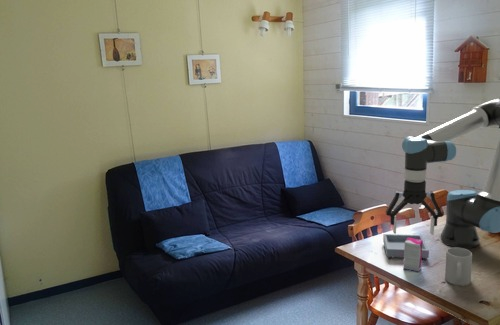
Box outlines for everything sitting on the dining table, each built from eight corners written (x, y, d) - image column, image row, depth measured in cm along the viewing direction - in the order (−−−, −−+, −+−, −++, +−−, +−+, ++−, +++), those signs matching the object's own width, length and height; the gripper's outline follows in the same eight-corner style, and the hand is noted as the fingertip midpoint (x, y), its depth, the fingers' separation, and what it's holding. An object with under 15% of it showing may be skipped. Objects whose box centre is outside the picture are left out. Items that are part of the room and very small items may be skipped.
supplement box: (419, 272, 160) (419, 244, 158) (402, 269, 163) (403, 242, 161) (421, 266, 165) (422, 239, 163) (406, 263, 168) (406, 236, 166)
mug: (444, 272, 159) (446, 246, 157) (470, 276, 156) (471, 248, 153) (444, 288, 149) (446, 259, 146) (471, 292, 145) (473, 262, 143)
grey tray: (421, 245, 184) (421, 235, 183) (428, 261, 169) (428, 250, 168) (383, 244, 188) (383, 234, 187) (386, 259, 172) (387, 249, 171)
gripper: (448, 177, 158) (445, 230, 162) (379, 176, 163) (378, 228, 168) (453, 182, 151) (450, 238, 155) (381, 181, 156) (380, 235, 161)
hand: (412, 233), depth 162 cm, fingers open, 13 cm apart
